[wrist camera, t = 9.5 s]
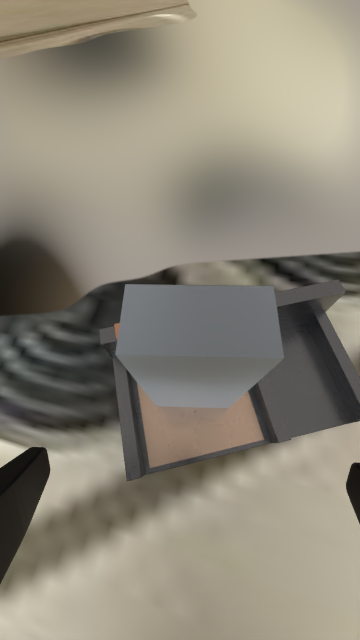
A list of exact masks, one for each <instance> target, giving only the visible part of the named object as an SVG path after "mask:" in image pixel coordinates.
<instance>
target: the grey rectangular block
mask: <svg viewBox="0 0 360 640" xmlns="http://www.w3.org/2000/svg"><path fill="white" fill-rule="evenodd" d="M115 355H116V356H117V357H118V359H119V360H120V361H121V362H122V364H123V365H124V366H125V368H126V369H127V370H128V371H129V373H130V374H131V375H132V376H133V378H134V379H135V380H136V381H137V383H138V384H139V385H140V387H141V388H142V389H143V390H144V392H145V393H146V394H147V395H148V397H149V398H150V399H151V401H152V402H153V403H154V404H155V406H165V407H200V408H229V407H230V406H231V405H233V404H234V403H235V402H236V401H237V400H238V399H239V398H240V397H242V396H243V395H244V394H245V393H246V392H247V391H248V390H249V389H250V388H252V387H253V386H254V385H255V384H256V383H257V382H258V381H259V380H261V379H262V378H263V377H264V376H265V375H266V374H267V373H268V372H269V371H271V370H272V369H273V368H274V367H275V366H276V365H277V364H278V363H279V362H281V361H282V360H283V359H284V353H283V347H282V340H281V333H280V326H279V319H278V312H277V305H276V299H275V292H274V286H222V285H142V284H125V290H124V297H123V304H122V311H121V318H120V325H119V332H118V339H117V346H116V353H115Z"/></svg>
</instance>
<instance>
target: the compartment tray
mask: <svg viewBox="0 0 360 640" xmlns="http://www.w3.org/2000/svg"><path fill="white" fill-rule="evenodd" d="M344 293H345V290H344V288H343V286H342V285H341V283H340V281H339V280H334V281H329V282H324V283H319V284H314V285H310V286H305V287H300V288H295V289H291V290H286V291H281V292H276V293H275V299H276V305H277V312H278V319H279V326H280V333H281V340H282V347H283V353H284V359H283V360H282V361H281V362H279V363H278V364H277V365H276V366H275V367H274V368H273V369H272V370H271V371H269V372H268V373H267V374H266V375H265V376H264V377H263V378H262V379H261V380H259V381H258V382H257V383H256V384H255V385H254V386H253V387H252V388H250V389H249V390H248V391H247V392H246V393H245V394H244V395H243V396H242V397H240V398H239V399H238V400H237V401H236V402H235V403H234V404H233V405H231V406H230V407H229V408H200V407H165V406H155V404H154V403H153V402H152V401H151V399H150V398H149V397H148V395H147V394H146V393H145V392H144V390H143V389H142V388H141V387H140V385H139V384H138V383H137V381H136V380H135V379H134V378H133V376H132V375H131V374H130V373H129V371H128V370H127V369H126V368H125V366H124V365H123V364H122V362H121V361H120V360H119V359H118V357H117V356H116V355H115V353H116V346H117V339H118V332H119V325H120V323H117V324H114V325H115V326H114V327H109V328H104V329H99V331H100V341H101V345H102V346H103V347H104V349H105V350H106V351H107V352H108V353H109V355H110V356H111V357H112V358H113V365H114V374H115V382H116V391H117V400H118V408H119V417H120V426H121V435H122V443H123V452H124V461H125V469H126V478H127V481H130V480H134V479H138V478H141V477H142V476H144V475H146V474H150V473H154V472H158V471H162V470H166V469H170V468H174V467H178V466H182V465H186V464H190V463H194V462H198V461H202V460H206V459H210V458H214V457H218V456H222V455H226V454H229V453H233V452H237V451H241V450H245V449H249V448H253V447H257V446H261V445H265V444H269V443H280V442H284V441H288V440H291V438H293V437H297V436H301V435H305V434H309V433H313V432H317V431H320V430H324V429H328V428H332V427H336V426H340V425H344V424H348V423H352V422H358V421H360V378H359V376H358V374H357V372H356V370H355V368H354V366H353V364H352V362H351V361H350V359H349V357H348V355H347V353H346V351H345V349H344V347H343V345H342V343H341V341H340V340H339V338H338V336H337V334H336V332H335V330H334V328H333V326H332V324H331V322H330V320H329V319H328V317H327V315H326V313H325V312H326V311H327V310H328V309H329V308H330V307H331V306H332V305H333V304H334V303H335V302H336V301H337V300H338V299H339V298H340V297H341V296H342V295H343V294H344Z"/></svg>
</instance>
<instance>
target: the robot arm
mask: <svg viewBox="0 0 360 640" xmlns="http://www.w3.org/2000/svg"><path fill="white" fill-rule="evenodd" d="M49 474H50V464H49V459H48V453H47V450H46V448H44V447H31V448H29V449H28V450H26V451H25V452H23V453H22V454H20V455H19V456H17V457H16V458H14V459H13V460H11V461H10V462H8V463H7V464H6V465H4V466H3V467H1V468H0V584H1V582H2V580H3V578H4V576H5V574H6V572H7V570H8V568H9V566H10V564H11V562H12V560H13V558H14V556H15V554H16V552H17V550H18V548H19V546H20V544H21V542H22V540H23V538H24V536H25V534H26V532H27V529H28V527H29V525H30V522H31V520H32V517H33V515H34V512H35V510H36V507H37V505H38V502H39V500H40V497H41V495H42V493H43V490H44V488H45V485H46V483H47V480H48V478H49ZM346 490H347V493H348V496H349V498H350V501H351V503H352V506H353V508H354V511H355V513H356V516H357V518H358V521H359V523H360V463H353V464H352V465H351V468H350V472H349V475H348V479H347V482H346Z"/></svg>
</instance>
